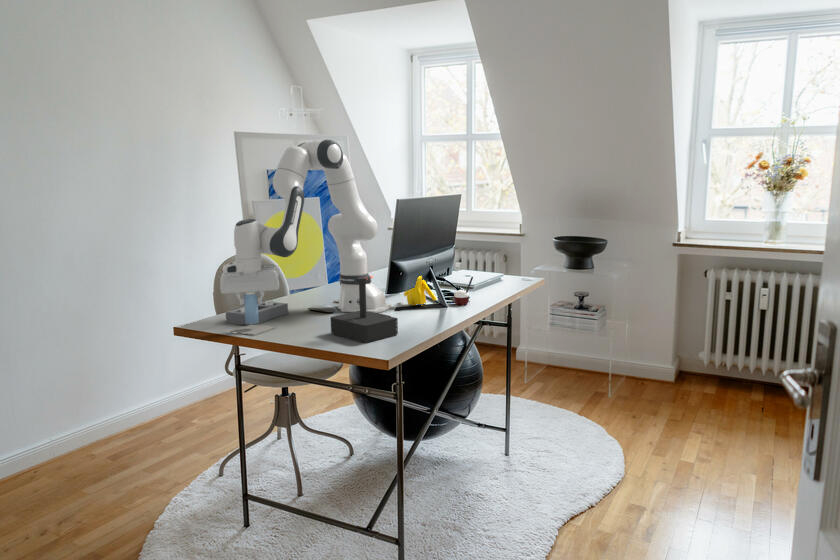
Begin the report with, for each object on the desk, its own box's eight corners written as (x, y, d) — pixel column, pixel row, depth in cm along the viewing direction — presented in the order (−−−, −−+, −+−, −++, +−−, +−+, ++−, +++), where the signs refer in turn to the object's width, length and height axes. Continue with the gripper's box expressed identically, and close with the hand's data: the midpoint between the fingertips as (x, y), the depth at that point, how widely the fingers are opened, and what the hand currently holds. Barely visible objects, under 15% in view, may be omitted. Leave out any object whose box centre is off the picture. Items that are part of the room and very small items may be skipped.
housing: (264, 310, 259) (264, 301, 258) (288, 313, 254) (287, 303, 253) (226, 322, 240) (225, 312, 239) (251, 325, 234) (250, 314, 234)
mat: (274, 328, 229) (274, 327, 229) (254, 335, 219) (254, 334, 219) (251, 325, 234) (251, 324, 234) (230, 332, 224) (230, 331, 224)
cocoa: (449, 305, 266) (447, 277, 264) (458, 302, 271) (456, 275, 269) (467, 307, 260) (465, 278, 258) (476, 304, 264) (474, 276, 262)
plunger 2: (275, 311, 253) (274, 300, 253) (270, 313, 251) (269, 302, 250) (269, 310, 255) (268, 300, 254) (263, 312, 252) (263, 301, 251)
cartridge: (258, 320, 229) (256, 290, 227) (259, 323, 224) (257, 292, 223) (245, 321, 227) (243, 290, 225) (245, 324, 223) (243, 293, 221)
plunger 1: (251, 318, 241) (251, 307, 240) (246, 320, 238) (245, 309, 237) (245, 318, 242) (244, 306, 242) (239, 319, 240) (238, 308, 239)
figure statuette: (439, 306, 263) (439, 253, 259) (427, 309, 257) (427, 255, 254) (407, 301, 274) (406, 250, 271) (395, 304, 268) (394, 252, 265)
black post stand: (402, 334, 219) (401, 277, 215) (365, 344, 207) (364, 284, 204) (366, 325, 232) (364, 272, 229) (329, 334, 220) (327, 278, 217)
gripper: (277, 262, 229) (279, 300, 231) (218, 266, 222) (221, 304, 225) (279, 265, 223) (281, 303, 225) (219, 268, 216) (221, 308, 219)
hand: (250, 304), depth 225 cm, fingers closed on cartridge, 5 cm apart
